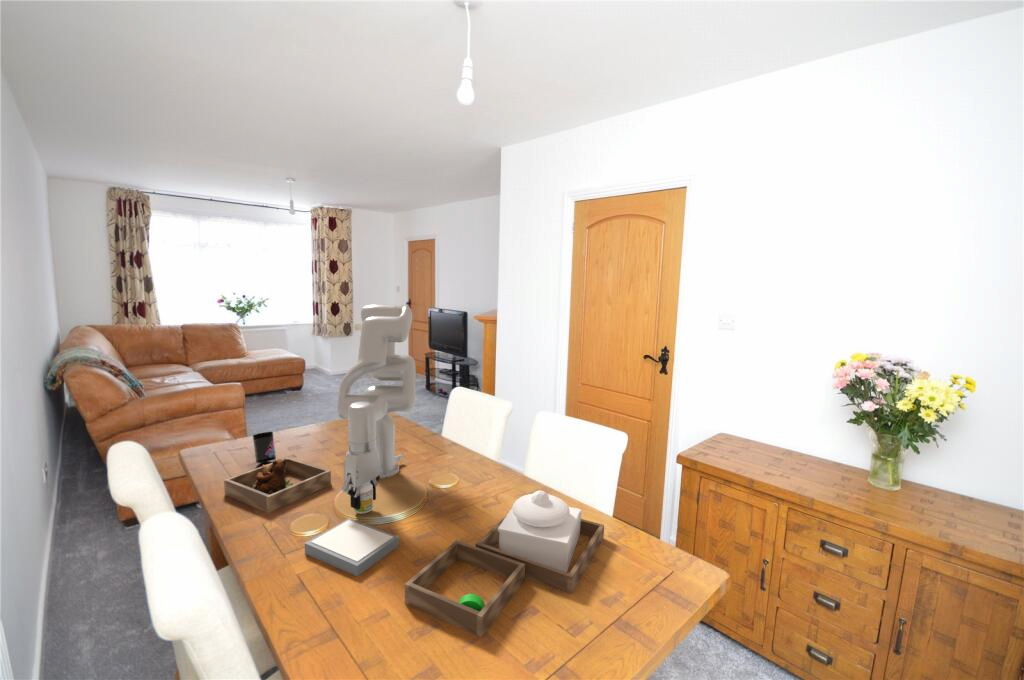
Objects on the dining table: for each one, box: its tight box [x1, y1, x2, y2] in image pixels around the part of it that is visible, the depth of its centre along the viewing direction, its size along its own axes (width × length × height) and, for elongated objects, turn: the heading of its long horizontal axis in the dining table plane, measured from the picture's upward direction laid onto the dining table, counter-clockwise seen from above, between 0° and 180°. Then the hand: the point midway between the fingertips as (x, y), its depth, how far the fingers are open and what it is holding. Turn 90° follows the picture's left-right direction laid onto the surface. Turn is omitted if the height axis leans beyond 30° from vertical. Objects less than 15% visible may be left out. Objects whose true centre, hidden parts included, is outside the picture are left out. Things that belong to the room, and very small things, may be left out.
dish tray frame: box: [475, 516, 605, 595], centre depth 115 cm, size 25×25×5 cm
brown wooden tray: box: [223, 456, 332, 514], centre depth 145 cm, size 22×22×5 cm
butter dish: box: [498, 490, 582, 573], centre depth 116 cm, size 18×18×16 cm
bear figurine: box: [250, 458, 294, 495], centre depth 143 cm, size 14×15×12 cm
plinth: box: [304, 517, 400, 577], centre depth 113 cm, size 14×18×3 cm
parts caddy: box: [404, 539, 526, 638], centre depth 99 cm, size 19×19×5 cm
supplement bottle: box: [353, 481, 374, 514], centre depth 131 cm, size 5×5×10 cm
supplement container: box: [252, 431, 277, 465], centre depth 165 cm, size 7×7×10 cm
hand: (363, 502), depth 132 cm, fingers closed on supplement bottle, 5 cm apart
